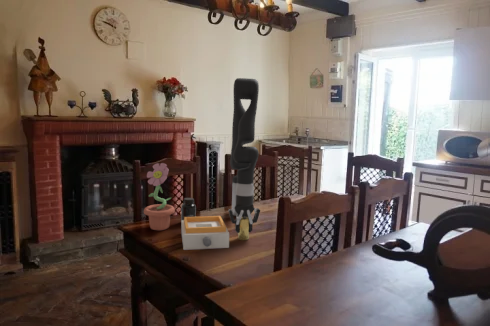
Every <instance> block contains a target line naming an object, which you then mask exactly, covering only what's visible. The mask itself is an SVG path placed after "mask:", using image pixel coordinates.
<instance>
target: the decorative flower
mask: <svg viewBox="0 0 490 326" xmlns="http://www.w3.org/2000/svg"><path fill="white" fill-rule="evenodd" d="M152 168H153V171H147V173H146V178H147V179H148V180H147V183H148V184H149V185H152V186H154V187H155V189H154V191H153V192H151V193H150V194H148V197H149V198H151V197H153V198H154V200H156V201H157V202H161V203H159V204H156V203H155V204H151V205H148V206H146V207H144V209H143V214H144V215H146V216H148V221H149V227H150V229H151V230H154V231H164V230H168V229H169V227H170V225H171V215H173V214H174V213H175V212H176V208H175V207H174V206H173V205H171V204H167V201H169V200H171V199H172V197H168V198H166V199H165V198H163V197H162V198H161V197H159V196H158V194H159V191H160V193H161V194H163V193H164V192H163V191H164V190H163V188H162V186H161V185H162V184H163V183H164V182H165V181H166V180H167V178H168V175H169V171H170V170H169V168H168V165H167V164H166V163H164V162H161V163H157V162H156V163H155V164H153V165H152Z"/></svg>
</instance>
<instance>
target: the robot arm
mask: <svg viewBox="0 0 490 326" xmlns="http://www.w3.org/2000/svg"><path fill="white" fill-rule="evenodd" d="M259 88H260V87H259V80H258V79H256V78H247V77H246V78H245V77H243V78H241V77H240V78H239V77H238V78H236V79H234V83H233V115H232V116H233V117H232V132H231V135H232V136H231V139H232V140H231V142H232V143H231V150H230V158H229V159H230V160H229V164H230V167H231V168H230V169H231V170H237V172H236V175H234V176H233V177H232V186H231V187H232V190H231V191H232V195H231V196H232V197H231V198H232V199H231V200H232V201H231V208H229V209H228V215H229V218H230V221H231V223H232V224H235V225H234V227H235V230H234V231H235V232H236V233H237V234H238V233H239V222H240V220H241V217H243V216H246V217H248V218H249V234H250V233H252V232H253V225H254V224H255V223H258V219H259V218H260V217H259V216H260V214H261V209H260V208H258V207H254V198H255V197H254V193H255V190H254V189H255V187H254V180H255V179H254V178H255V175H254V174H255V169H256V165H257V162H258V159H259V156H260V155H259V154H260V153H259V150H258V148H257V147H255V146H244V145H246V144H247V145H248V144H251V143H253V142H254V141H255V137H256V136H255V134H256V133H255V130H256V128H255V126H256V117H257V116H256V115H257V110H258V100H259V90H260V89H259ZM242 100H245V101H247V100H250V103H249V106H248V107H247V109H246V110H245V108H244V106H243V103H242ZM253 212H254V215H253V218H252V213H253ZM234 216H235V217H236V218H235V217H234Z"/></svg>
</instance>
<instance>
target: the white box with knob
mask: <svg viewBox="0 0 490 326" xmlns="http://www.w3.org/2000/svg"><path fill="white" fill-rule="evenodd" d="M180 222H181V226H180V229H181V230H180V231H181V240H182V248H183V250H184V251H188V250H209V249H211V250H212V249H229V248H230V232H229V230H228V228H227V225H226V224H225V222H224V220H223V218H222V216H221V215H207V216H196V217H184V220H181V219H180Z"/></svg>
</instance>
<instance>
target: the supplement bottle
mask: <svg viewBox="0 0 490 326" xmlns="http://www.w3.org/2000/svg"><path fill="white" fill-rule="evenodd" d="M196 213H197V206H196V204H195V199H194V198H193V197H184V198H183V203H182V204H181V213H180V214H181V215H180V221H181V220H184V217H197V216H196Z"/></svg>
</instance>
